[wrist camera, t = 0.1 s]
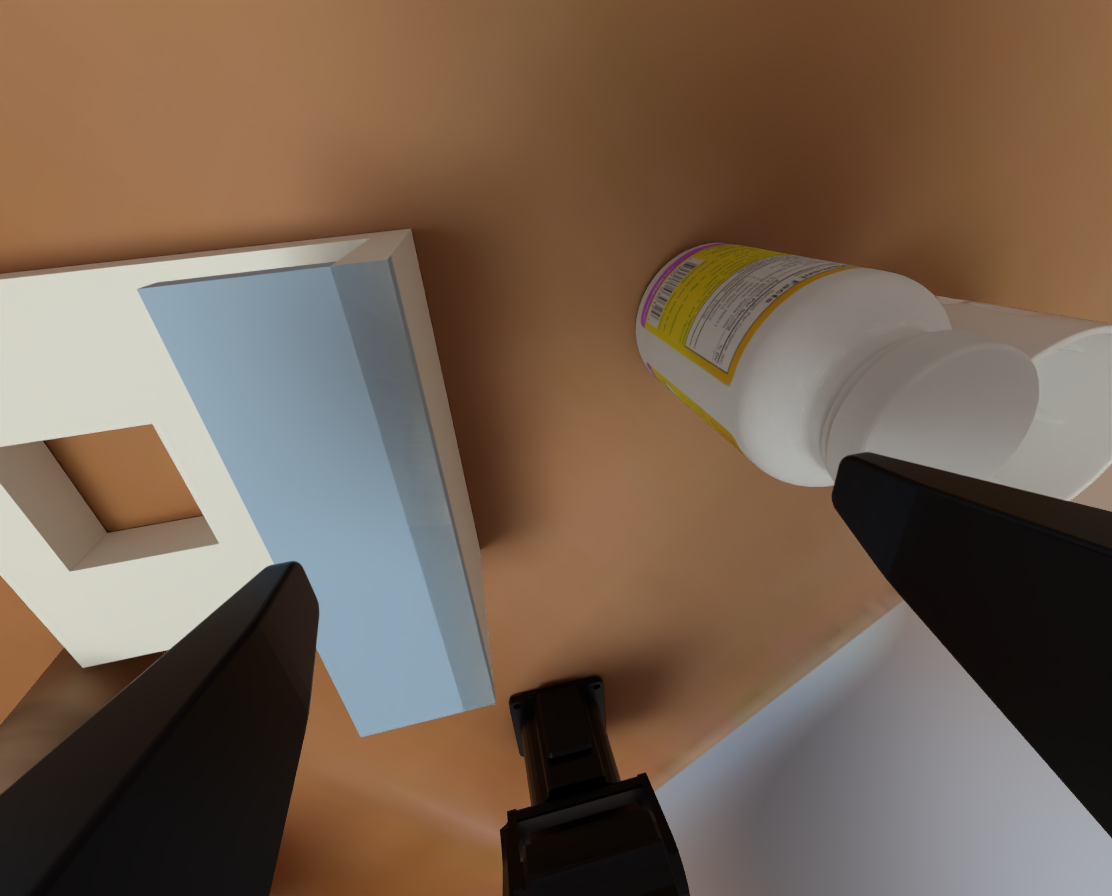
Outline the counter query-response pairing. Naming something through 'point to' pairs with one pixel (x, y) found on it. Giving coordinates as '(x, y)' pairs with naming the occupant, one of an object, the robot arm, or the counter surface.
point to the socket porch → (251, 460)
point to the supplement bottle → (830, 365)
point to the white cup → (1053, 394)
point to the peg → (60, 708)
